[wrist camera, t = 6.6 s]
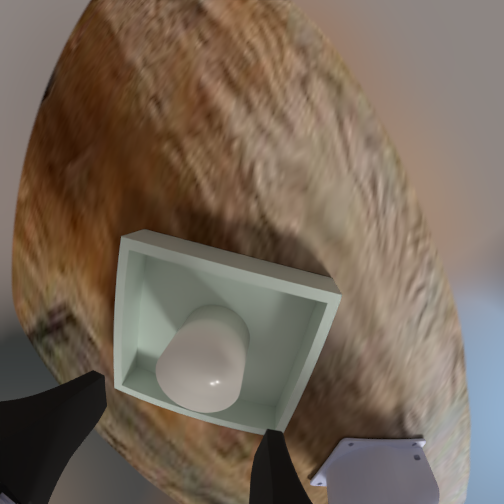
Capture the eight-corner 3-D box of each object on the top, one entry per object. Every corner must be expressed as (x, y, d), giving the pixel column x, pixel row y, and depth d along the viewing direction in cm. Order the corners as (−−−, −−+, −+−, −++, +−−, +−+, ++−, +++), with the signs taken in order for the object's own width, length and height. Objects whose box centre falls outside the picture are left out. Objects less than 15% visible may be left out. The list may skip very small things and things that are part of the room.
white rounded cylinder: (257, 316, 17) (250, 360, 12) (240, 371, 18) (230, 421, 13) (189, 296, 17) (159, 332, 13) (178, 352, 18) (152, 396, 14)
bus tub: (332, 277, 17) (342, 294, 14) (281, 410, 19) (280, 438, 16) (144, 229, 17) (121, 236, 14) (131, 366, 20) (114, 387, 17)
